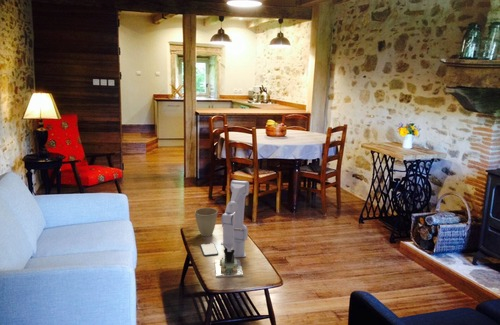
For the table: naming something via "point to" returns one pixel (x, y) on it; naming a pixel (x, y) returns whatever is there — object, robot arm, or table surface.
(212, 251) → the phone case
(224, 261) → the green and grey block
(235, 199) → the robot arm
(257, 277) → the table surface
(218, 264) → the plate
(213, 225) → the plant pot
